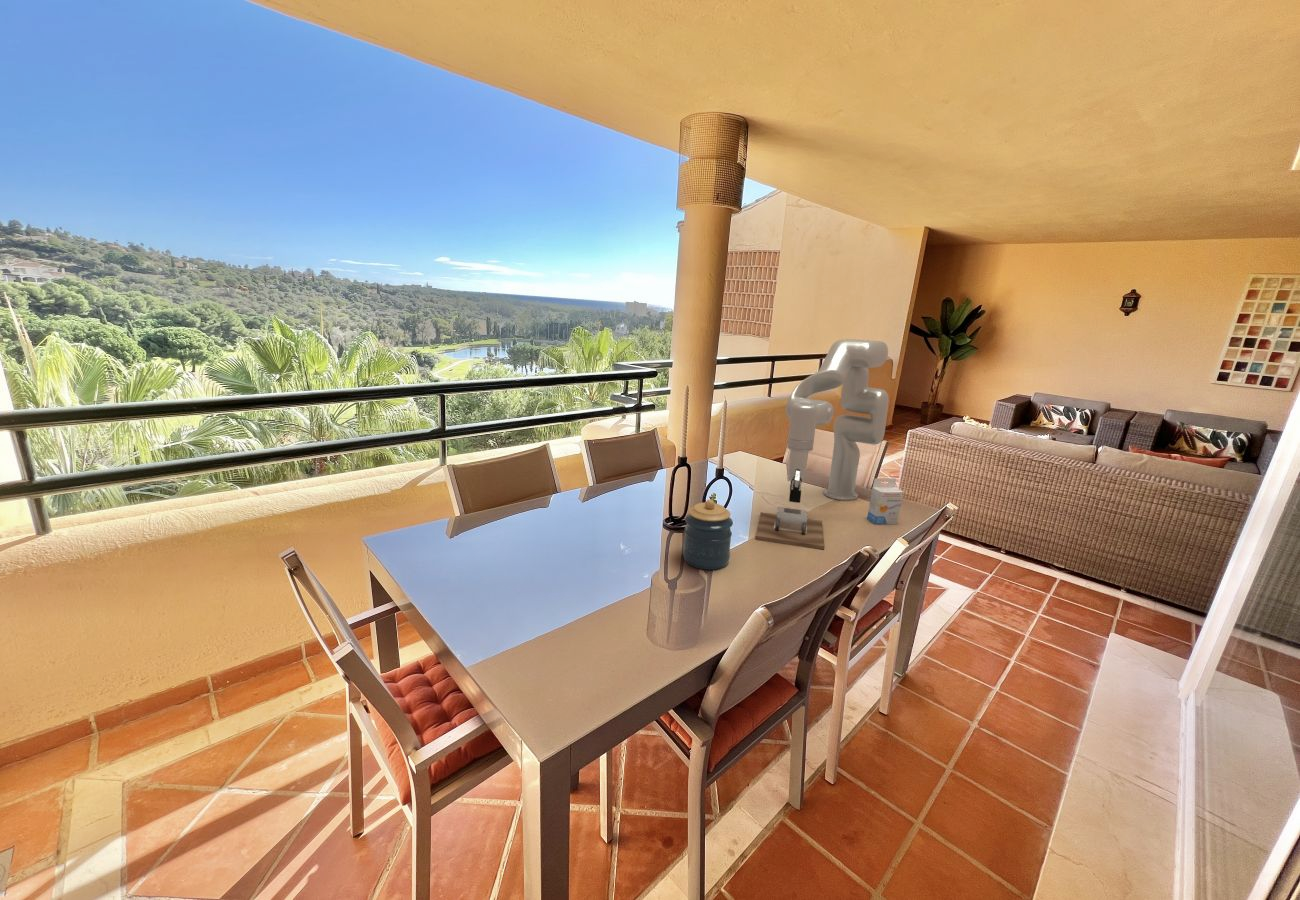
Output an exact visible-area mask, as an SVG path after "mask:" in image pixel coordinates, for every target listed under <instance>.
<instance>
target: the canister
mask: <svg viewBox="0 0 1300 900" xmlns="http://www.w3.org/2000/svg"><path fill="white" fill-rule="evenodd" d="M684 517H685V518H684V521H685V523H686V525H685V527H684V540H683V548H682V551H683V552H682V554H683V555H682V556H683V559H684V561H685V563H686V564H688V565H690V566H691V567H693V568H697V569H700V570H706V571H709V570H710V571H711V570H712V571H713V570H719V569H722V568H725V567H726V566H728V564H729V562H730V561H729V560H730V558H731V539H732V535H733V534H732V530H731V528H732V526H733V525H734V522H733V519H732V518H731V512H730V510H729V509H727V508H725V506H723V505H722V504H720V503H715V501H714V500H713V499H707V500H706V501H705V502H704V501H703V502H698V503H696V504H694V505H693V506H691V507H689V509H688V514H686V515H685V516H684Z"/></svg>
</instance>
